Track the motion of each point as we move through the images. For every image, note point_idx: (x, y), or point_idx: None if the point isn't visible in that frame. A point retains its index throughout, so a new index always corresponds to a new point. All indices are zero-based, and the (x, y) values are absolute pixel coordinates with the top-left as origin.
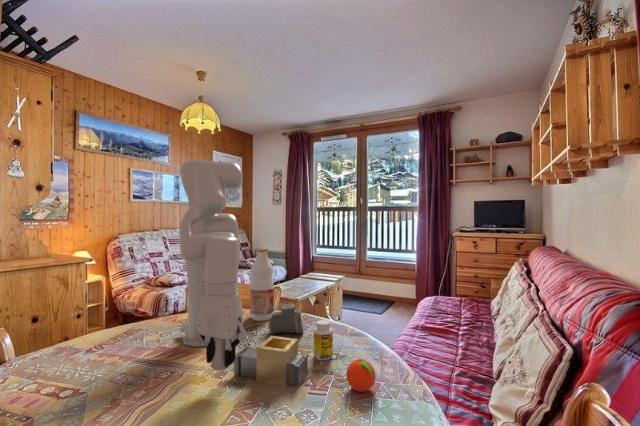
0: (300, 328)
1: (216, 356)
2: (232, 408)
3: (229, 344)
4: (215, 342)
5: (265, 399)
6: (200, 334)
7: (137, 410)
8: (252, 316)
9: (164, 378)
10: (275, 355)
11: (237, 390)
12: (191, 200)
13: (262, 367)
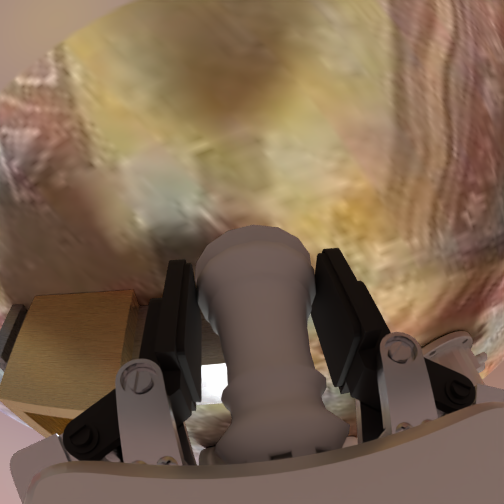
0: (202, 459)
1: (269, 295)
2: (81, 112)
3: (131, 412)
4: (344, 387)
5: (26, 217)
6: (475, 392)
7: (444, 2)
8: (351, 442)
9: (469, 189)
10: (35, 384)
11: (154, 218)
12: None
13: (97, 336)
